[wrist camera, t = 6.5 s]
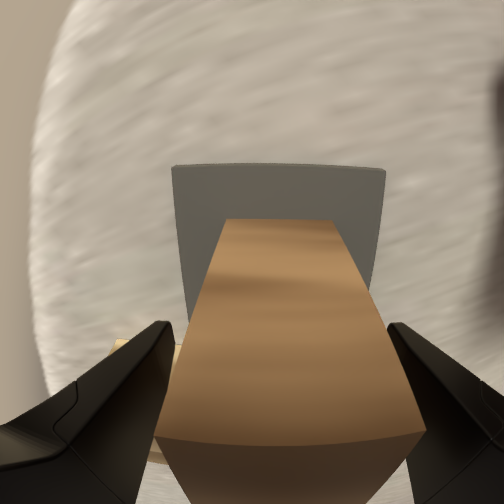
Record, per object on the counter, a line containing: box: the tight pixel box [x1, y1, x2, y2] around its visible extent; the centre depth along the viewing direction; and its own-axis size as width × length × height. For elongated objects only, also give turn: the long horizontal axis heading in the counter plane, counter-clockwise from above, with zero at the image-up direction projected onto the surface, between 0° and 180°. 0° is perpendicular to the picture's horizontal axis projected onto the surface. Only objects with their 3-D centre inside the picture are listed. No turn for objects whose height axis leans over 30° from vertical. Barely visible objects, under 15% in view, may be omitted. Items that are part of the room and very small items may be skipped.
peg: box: [153, 219, 426, 504], centre depth 9 cm, size 4×4×9 cm
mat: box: [171, 163, 386, 323], centre depth 13 cm, size 8×8×1 cm
